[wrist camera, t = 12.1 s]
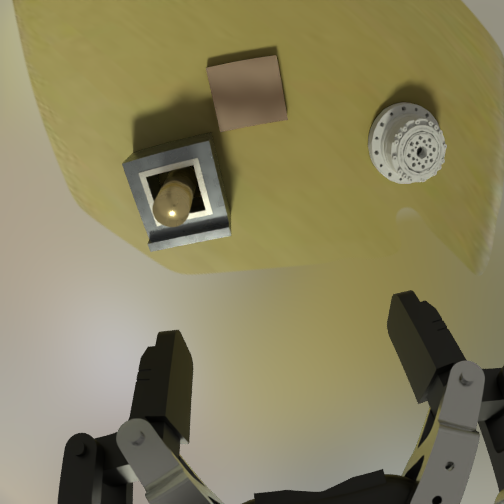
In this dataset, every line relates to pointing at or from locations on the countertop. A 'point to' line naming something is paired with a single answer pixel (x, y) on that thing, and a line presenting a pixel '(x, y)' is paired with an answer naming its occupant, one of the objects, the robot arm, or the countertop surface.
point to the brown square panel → (247, 93)
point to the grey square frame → (203, 207)
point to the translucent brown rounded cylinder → (175, 197)
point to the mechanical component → (406, 143)
